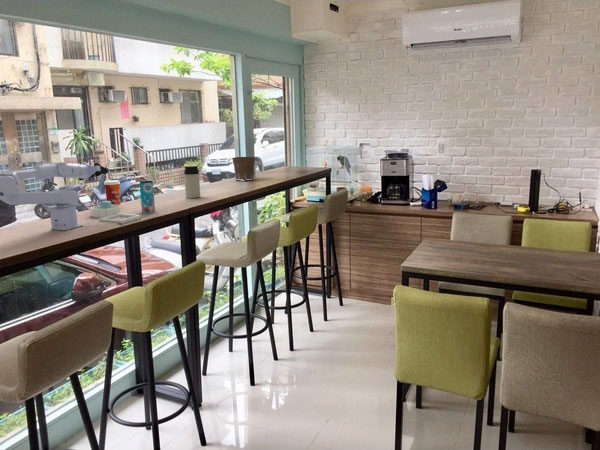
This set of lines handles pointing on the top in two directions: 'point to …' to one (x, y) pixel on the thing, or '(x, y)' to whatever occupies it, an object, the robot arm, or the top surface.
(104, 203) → the peg
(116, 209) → the bowl
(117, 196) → the paper cup
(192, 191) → the travel mug
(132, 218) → the tray
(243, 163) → the plant pot
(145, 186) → the beverage can
